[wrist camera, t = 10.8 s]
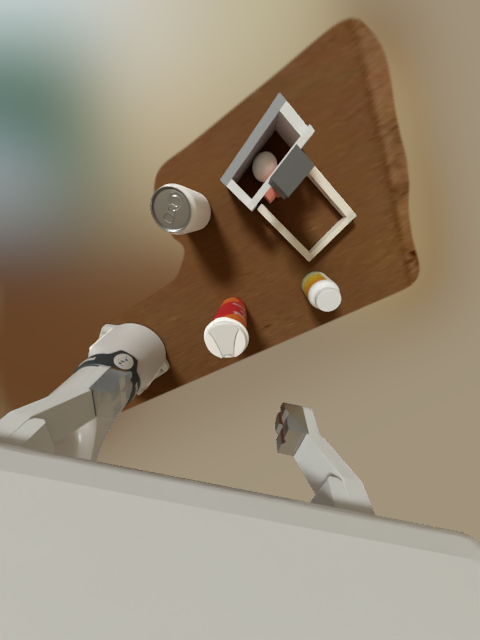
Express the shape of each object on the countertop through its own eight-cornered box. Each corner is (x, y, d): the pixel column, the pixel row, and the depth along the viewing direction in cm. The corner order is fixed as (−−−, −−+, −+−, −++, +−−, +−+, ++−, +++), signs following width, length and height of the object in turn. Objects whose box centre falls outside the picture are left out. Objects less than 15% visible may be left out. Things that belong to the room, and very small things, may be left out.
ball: (248, 168, 32) (246, 169, 35) (266, 188, 34) (263, 187, 37) (266, 142, 31) (262, 146, 34) (285, 164, 32) (279, 166, 35)
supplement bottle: (297, 292, 45) (306, 310, 36) (307, 267, 42) (320, 281, 34) (321, 299, 45) (336, 319, 36) (332, 275, 43) (352, 290, 34)
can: (217, 204, 38) (202, 200, 28) (201, 237, 41) (182, 244, 30) (185, 183, 37) (157, 170, 26) (171, 217, 40) (140, 218, 29)
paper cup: (252, 322, 49) (250, 359, 36) (219, 325, 49) (207, 362, 37) (248, 290, 45) (245, 318, 33) (213, 293, 46) (197, 322, 34)
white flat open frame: (306, 259, 42) (309, 261, 40) (256, 209, 38) (256, 209, 36) (351, 215, 38) (356, 215, 36) (300, 155, 34) (302, 152, 33)
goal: (252, 211, 38) (251, 211, 31) (226, 185, 37) (218, 178, 30) (302, 148, 34) (314, 130, 27) (275, 116, 32) (280, 87, 25)
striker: (274, 207, 38) (282, 204, 25) (261, 195, 37) (264, 185, 25) (299, 177, 35) (322, 157, 23) (287, 163, 35) (303, 134, 22)
